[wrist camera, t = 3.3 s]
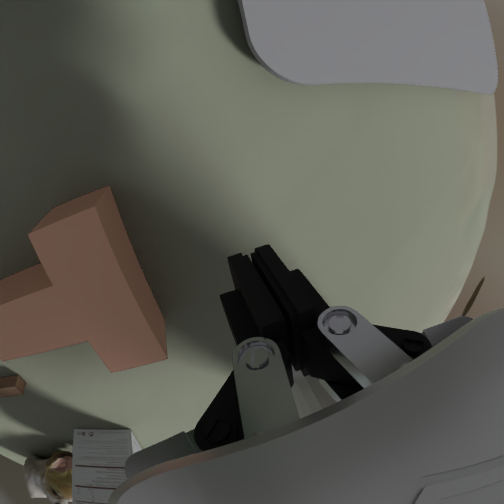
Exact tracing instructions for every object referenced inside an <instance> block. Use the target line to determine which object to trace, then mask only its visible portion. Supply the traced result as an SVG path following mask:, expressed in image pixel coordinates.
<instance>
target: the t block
mask: <svg viewBox="0 0 504 504" xmlns="http://www.w3.org/2000/svg"><path fill="white" fill-rule="evenodd" d="M28 236H29V239H30V241H31V243H32V245H33V247H34V249H35V251H36V254H37V256H38V258H39V260H40V262H41V263H40V264H37V265H35V266H32V267H30V268H27V269H25V270H23V271H20V272H18V273H15V274H13V275H11V276H8V277H6V278H4V279H1V280H0V358H1V360H2V361H7V360H11V359H16V358H20V357H25V356H29V355H33V354H38V353H42V352H46V351H50V350H54V349H58V348H62V347H66V346H70V345H74V344H78V343H82V342H86V341H88V342H89V343H90V345H91V346H92V347H93V349H94V350H95V352H96V353H97V354H98V356H99V357H100V358H101V360H102V361H103V362H104V364H105V365H106V366H107V368H108V369H109V370H110V371H111V373H113V372H117V371H122V370H126V369H130V368H134V367H138V366H142V365H146V364H150V363H154V362H158V361H162V360H165V359H168V357H167V347H166V335H165V323H164V317H163V315H162V313H161V311H160V309H159V307H158V304H157V302H156V300H155V298H154V296H153V294H152V292H151V289H150V287H149V285H148V283H147V280H146V278H145V276H144V274H143V271H142V269H141V267H140V264H139V262H138V259H137V257H136V255H135V252H134V250H133V247H132V245H131V242H130V240H129V237H128V235H127V232H126V230H125V227H124V224H123V222H122V219H121V216H120V213H119V211H118V208H117V205H116V202H115V199H114V197H113V194H112V191H111V188H110V185H109V186H106V187H103V188H101V189H98V190H95V191H93V192H90V193H88V194H85V195H83V196H80V197H78V198H75V199H73V200H71V201H68V202H66V203H64V204H61V205H59V206H57V207H54V208H52V209H51V210H50V211H49V212H48V214H47V215H46V216H45V217H44V218H43V219H42V220H41V221H40V222H39V223H38V224H37V225H36V226H35V227H34V228H33V229H32V230H31V232H30V233H29V234H28Z"/></svg>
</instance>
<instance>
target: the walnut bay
mask: <svg viewBox="0 0 504 504" xmlns="http://www.w3.org/2000/svg"><path fill="white" fill-rule="evenodd" d="M25 385H26V382H25V381H24V380H23V379H22V378H21V377H20V376H19V375H14V376H8V377H3V378H0V397H7V396H16V395H23V392H24V388H25Z"/></svg>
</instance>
